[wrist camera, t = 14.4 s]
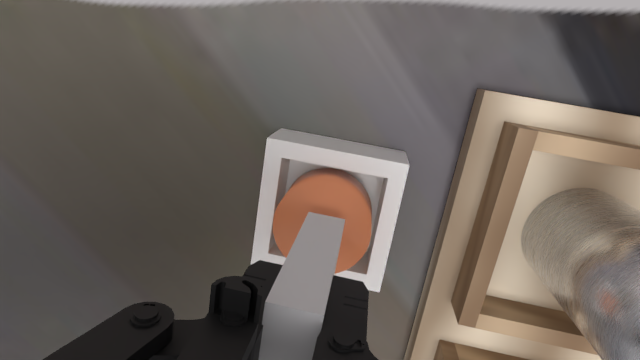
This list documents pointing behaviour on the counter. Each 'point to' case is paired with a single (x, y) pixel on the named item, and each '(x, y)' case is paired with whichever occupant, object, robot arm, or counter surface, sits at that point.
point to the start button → (326, 212)
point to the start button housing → (352, 157)
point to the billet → (590, 265)
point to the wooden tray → (515, 227)
